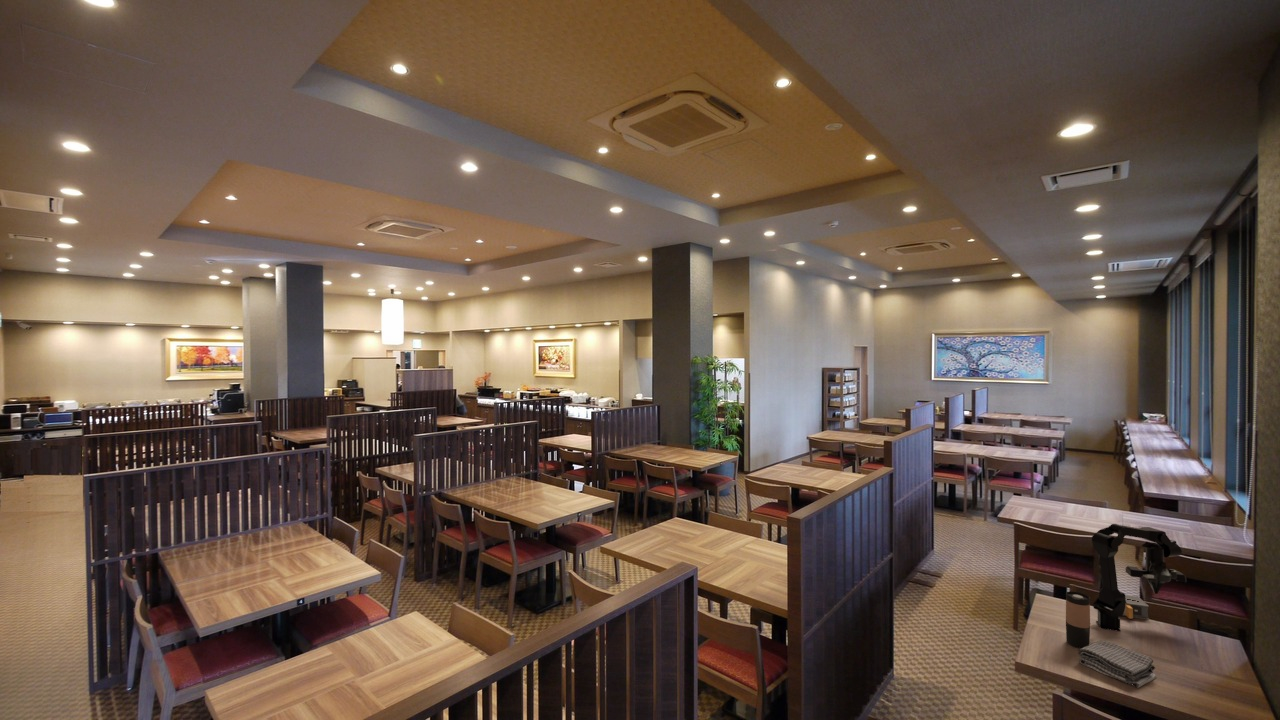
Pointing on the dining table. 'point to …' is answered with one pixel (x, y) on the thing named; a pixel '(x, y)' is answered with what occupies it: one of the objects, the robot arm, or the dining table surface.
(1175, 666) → the dining table surface
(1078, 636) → the travel mug
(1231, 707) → the dining table surface
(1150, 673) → the towel
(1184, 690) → the dining table surface
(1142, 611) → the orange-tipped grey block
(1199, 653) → the dining table surface
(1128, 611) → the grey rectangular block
